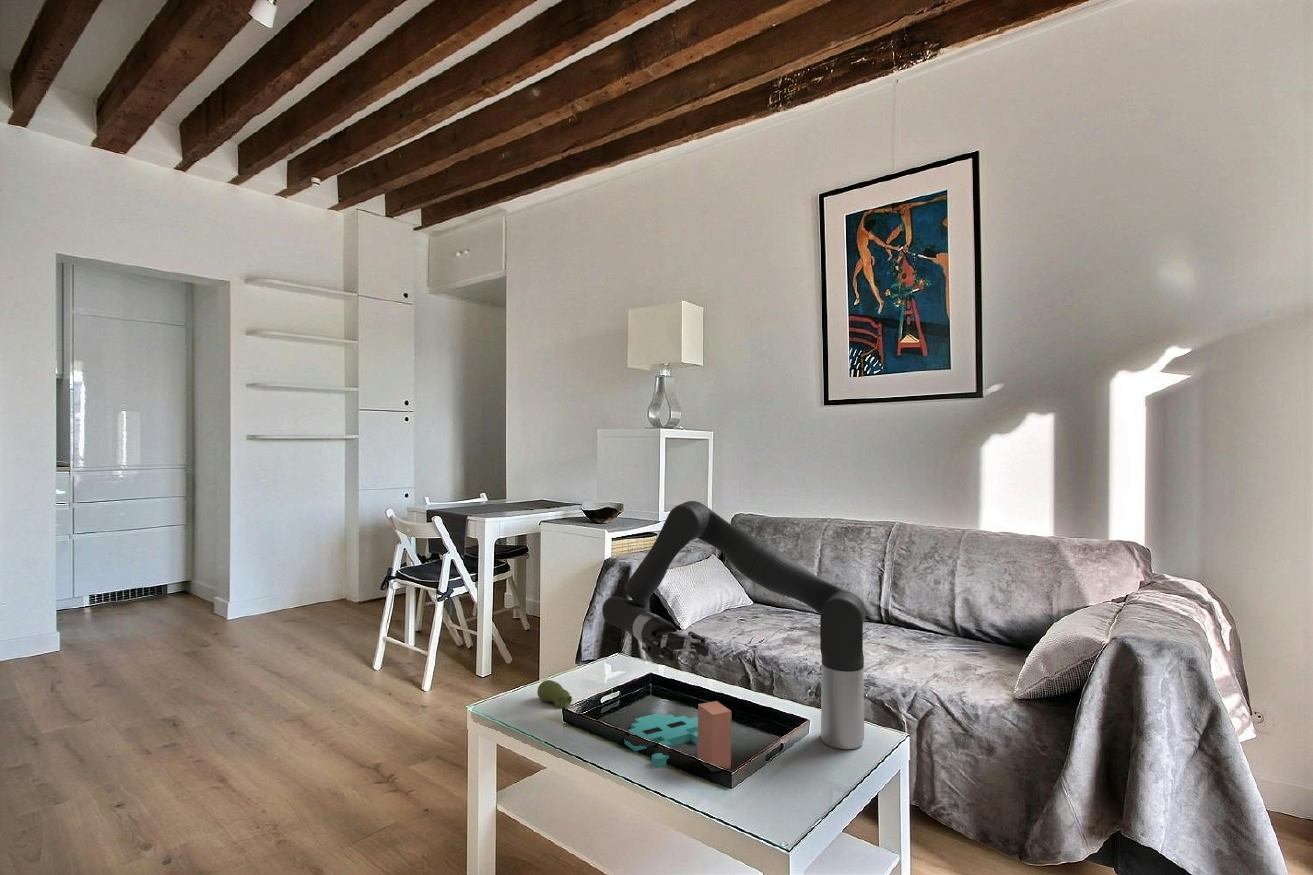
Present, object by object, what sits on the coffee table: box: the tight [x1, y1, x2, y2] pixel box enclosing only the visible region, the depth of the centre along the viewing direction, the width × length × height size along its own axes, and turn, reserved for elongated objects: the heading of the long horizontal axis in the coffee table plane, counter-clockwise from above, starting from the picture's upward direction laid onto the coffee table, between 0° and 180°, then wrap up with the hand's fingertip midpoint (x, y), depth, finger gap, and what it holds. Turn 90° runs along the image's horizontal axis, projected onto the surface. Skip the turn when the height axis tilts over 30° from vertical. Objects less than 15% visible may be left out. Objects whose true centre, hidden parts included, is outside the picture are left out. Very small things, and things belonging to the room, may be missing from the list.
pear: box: [536, 679, 573, 709], centre depth 178 cm, size 6×5×10 cm
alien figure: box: [624, 712, 734, 769], centre depth 158 cm, size 20×2×20 cm
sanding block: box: [697, 700, 732, 770], centre depth 146 cm, size 4×6×12 cm
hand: (691, 654), depth 154 cm, fingers open, 8 cm apart
